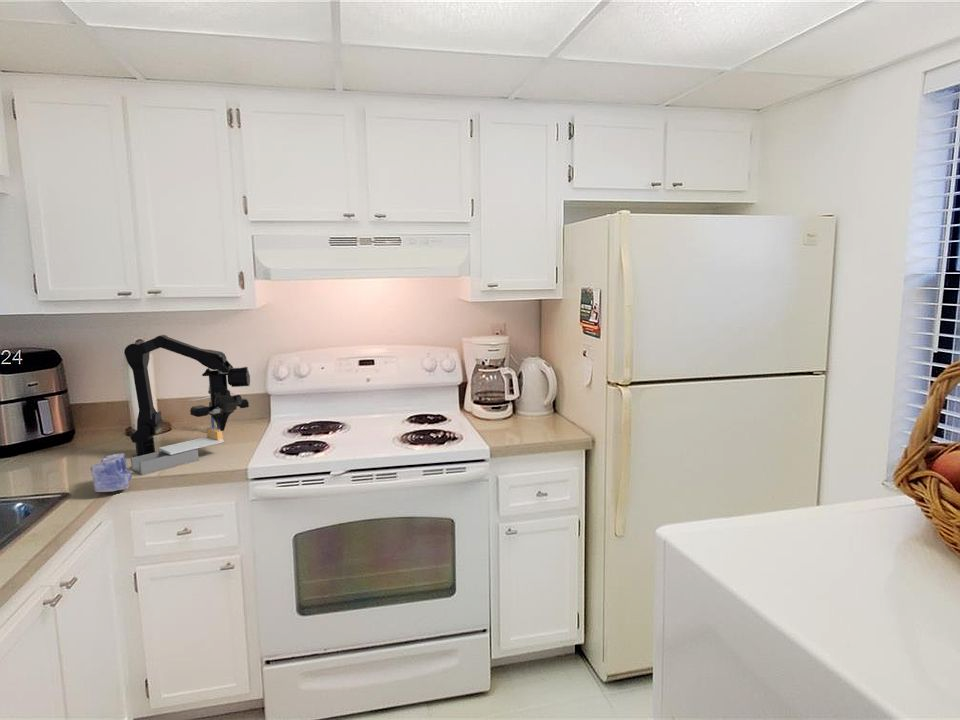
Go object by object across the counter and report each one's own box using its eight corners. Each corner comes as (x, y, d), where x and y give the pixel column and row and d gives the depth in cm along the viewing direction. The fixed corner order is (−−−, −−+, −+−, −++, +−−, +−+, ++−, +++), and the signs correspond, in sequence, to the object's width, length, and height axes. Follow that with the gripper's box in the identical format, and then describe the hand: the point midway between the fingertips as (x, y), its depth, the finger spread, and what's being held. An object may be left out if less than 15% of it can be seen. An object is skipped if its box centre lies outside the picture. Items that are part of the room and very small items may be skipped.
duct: (131, 469, 192) (130, 458, 191) (188, 455, 206) (186, 444, 205) (141, 475, 187) (140, 462, 186) (198, 460, 200) (197, 449, 200)
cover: (159, 450, 198) (157, 439, 198) (211, 437, 212) (210, 427, 211) (170, 454, 193) (169, 443, 192) (223, 441, 206) (223, 431, 206)
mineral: (131, 494, 171) (127, 460, 170) (92, 499, 167) (88, 465, 166) (136, 478, 184) (133, 447, 182) (101, 483, 180) (97, 451, 179)
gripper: (202, 395, 196) (207, 440, 198) (255, 386, 210) (258, 428, 212) (187, 391, 203) (191, 435, 205) (239, 382, 217) (242, 423, 219)
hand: (222, 430), depth 210 cm, fingers closed
